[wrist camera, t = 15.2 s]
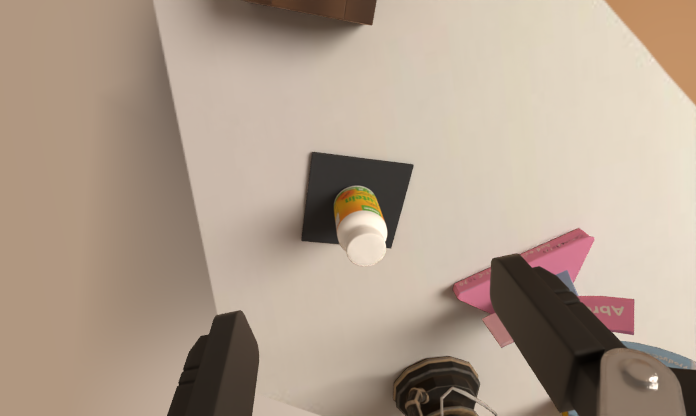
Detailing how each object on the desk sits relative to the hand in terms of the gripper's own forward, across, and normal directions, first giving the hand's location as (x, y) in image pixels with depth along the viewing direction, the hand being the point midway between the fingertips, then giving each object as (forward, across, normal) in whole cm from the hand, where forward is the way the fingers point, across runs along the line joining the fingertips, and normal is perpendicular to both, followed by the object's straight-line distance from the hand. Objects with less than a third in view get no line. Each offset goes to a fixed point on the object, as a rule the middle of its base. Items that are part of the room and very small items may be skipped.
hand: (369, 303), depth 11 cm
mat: (+29, -1, +13) cm, 32 cm away
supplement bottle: (+29, -1, +13) cm, 32 cm away
